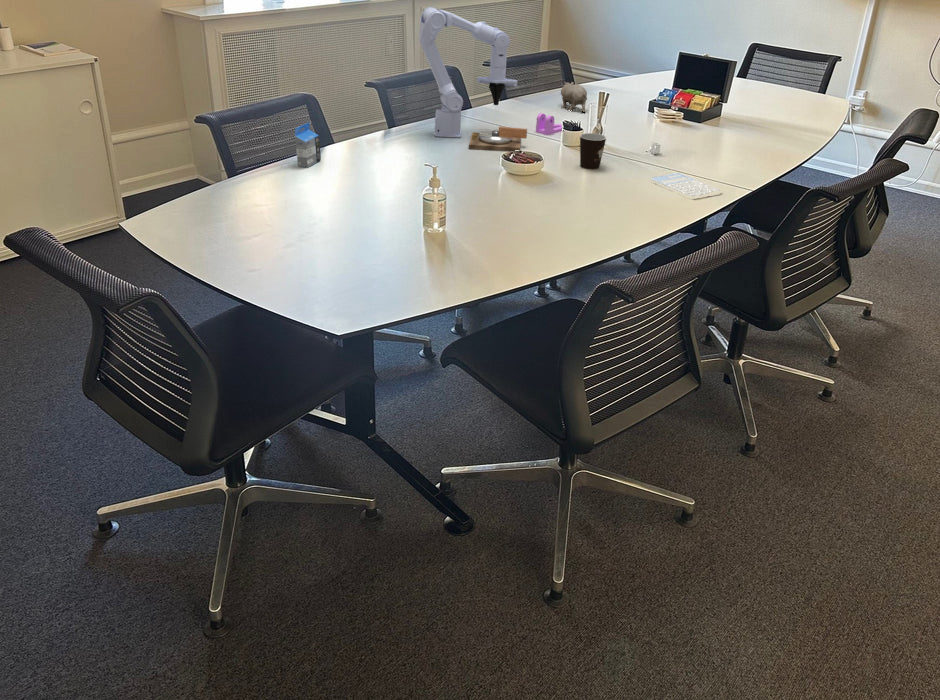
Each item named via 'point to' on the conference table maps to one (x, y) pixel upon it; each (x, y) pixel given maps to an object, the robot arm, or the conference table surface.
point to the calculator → (684, 184)
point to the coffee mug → (591, 150)
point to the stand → (480, 145)
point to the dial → (502, 135)
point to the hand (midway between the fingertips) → (496, 104)
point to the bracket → (547, 125)
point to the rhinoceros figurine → (573, 95)
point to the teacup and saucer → (654, 148)
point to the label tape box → (307, 146)
